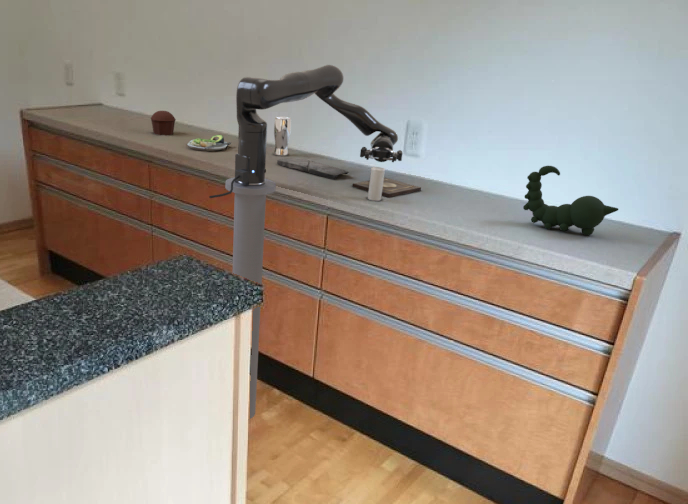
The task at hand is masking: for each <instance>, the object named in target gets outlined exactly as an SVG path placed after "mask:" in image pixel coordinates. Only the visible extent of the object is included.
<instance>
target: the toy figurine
mask: <svg viewBox="0 0 688 504" xmlns="http://www.w3.org/2000/svg"><path fill="white" fill-rule="evenodd" d="M548 174H556V175H557V176H561V171H560V170H559V169H558V167H555V166H553V165H543V166H542V167H539V170H538V171H532V172H530V173H529V175H527V178H526V179H527V180H528V182H527V184H526V185H525V188H526V189H527V190H528V191H527V192H526V193H525V194H524V199H526V200H527V202H526V203H525V204H524V205H523V210H524V211H530V212H532V217H531V219H530V221H531V223H533V224H535V223H538V222H541V223H542V224H543V227H544V228H545V229H546V230H550V229H551V228H552V227H557V226H558V227H559V230H560V231H561V232H566V231H568V230H569V229H570V227H573V226H574V227H576V228H578V229H580V230H581V233H582V234H583V235H584V236H591V235H592V234H593V233H594V232H595V228H596V227H597V226H599V225H600V224H601V223H602V222H603V221H604V219H605V217H606V216H607V215H610V214H613V213H616V212H618V211H619V208H618V207H614V206H610V205H607V204H605V203H604V202H603V201H602V200H601V199H600V198H598V197H596V196H593V195H583V196H580V197H578V198H576V199H575V200H574V201H572V203H563V204H561V205H558V206H557V205H548V204H546V203H545V201H544V199H543V192H542V190H541V189H542V186H543V184H542V177H544V176H546V175H548Z"/></svg>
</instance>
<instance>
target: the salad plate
mask: <svg viewBox="0 0 688 504" xmlns="http://www.w3.org/2000/svg"><path fill="white" fill-rule="evenodd" d="M229 145H232V142H230V141H229V142H228V141H225V138H224V136H223V135H222V134H215V135H213V136H211V137H210V138H209V139H205V138H201V137H199V138H195V139H191V140H190V141H188V143H187V147H189V148H190V149H191V150H194V151H201V152H218V151H223V150H225V149H226V148H227V147H229Z"/></svg>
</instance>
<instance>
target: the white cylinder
mask: <svg viewBox="0 0 688 504" xmlns="http://www.w3.org/2000/svg"><path fill="white" fill-rule="evenodd" d="M385 173H386V168H384V167H380V166H372V167H371V168H370V176H369V180H370V183H369V191H367V200H369V201H373V202H380V201H382V197H383V196H382V189H383V182H384V178H385Z"/></svg>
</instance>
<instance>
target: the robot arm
mask: <svg viewBox="0 0 688 504" xmlns="http://www.w3.org/2000/svg"><path fill="white" fill-rule="evenodd" d="M344 81H345V79H344V74H343V72H342V71H341V69H340V68H338V67H337V66H336V65H333V64H326V65H323V66H320V67H317V68H313V69H308V70H301V71H292V72H288V73H285V74H283V75H281V77H280V78H279V79H267V78H259V77H251V76H245V77H242V78H241V79H240V80H239V81H238V83H237V87H236V94H235V95H236V96H235V98H236V100H235V101H236V103H235V104H236V106H235V107H236V120H237V125H238V136H237V137H238V139H237V153H235V156H234V158H235V160H234V177H235V178H234V177H233V178H234V179H233V180H232V182H231V190H230V191H227V192H224V193H220V194H212V195H209V196H208V197H209V199H214V198H221V197H225V196H227V195H231V194H232V193H233V192H232V191H233V183H234V181H235V183H238V184H241V185H244V186H261V185H264V184H265V179H266V173H267V170H266V163H267V162H266V161H267V143H268V141H267V140H268V122H267V121H266V120H265V119H263V118H262V117H261V116H260V115H259V114H258V111H257V110H268V109H270V108H273V107H274V106H278V105H280V104H285V103H287V104H288V103H294V102H298V101H302V100H305V99H307V98H310V97H311V96H314V95H315V96H316V97H318V99H320V100H321V101H322V102H323V103H325V104H326V105H328V106H329V107H331V108H332V109H333V110H334V111H336V112H338V113H339V114H340V115H342V116H343V117H345V119H347V120H348V121H349V122H350V123H352V124H353V126H355V128H357V129H358V130H359V131H360V132H361V133H362V135H364V136H366V137H369V136H372V135H373V134H375V133H376V132H379V133H378V134H377V135H376V136H375V137H374V138H373V139H372V140H371V142H370V148H369V149H368V148H367V147H366V146H362V147H361V148H360V151H359V152H360V153H359V157H360V158H364V159H366V161H368V160H369V159H371V160H375V161H376V162H378V163H385V162H387V161H391V163H394V162H397V161H398V162H402V160H403V154H404V153H403V151H402V149H399V150H397V151H394V145H396V144H397V143H398V141H399V135H398V133H397V132H396V131H395V130H394V129H392V128H391V127H389V126H387V125H385V124H383V123H381V122H380V121H379V120H377V119H376V118H375V117H374V116H373V115H372V114H371V113H370V111H369V110H367V109H366V108H364V107H363V106H361V105H358V104H356V103H351V102H349V101H346V100H343V99H341V98H340V97H338V96H337V95H336V94H335V93H336V91H338V90H339V89H340V88H341V87H342V85H343V83H344ZM396 133H397V134H396Z"/></svg>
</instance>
